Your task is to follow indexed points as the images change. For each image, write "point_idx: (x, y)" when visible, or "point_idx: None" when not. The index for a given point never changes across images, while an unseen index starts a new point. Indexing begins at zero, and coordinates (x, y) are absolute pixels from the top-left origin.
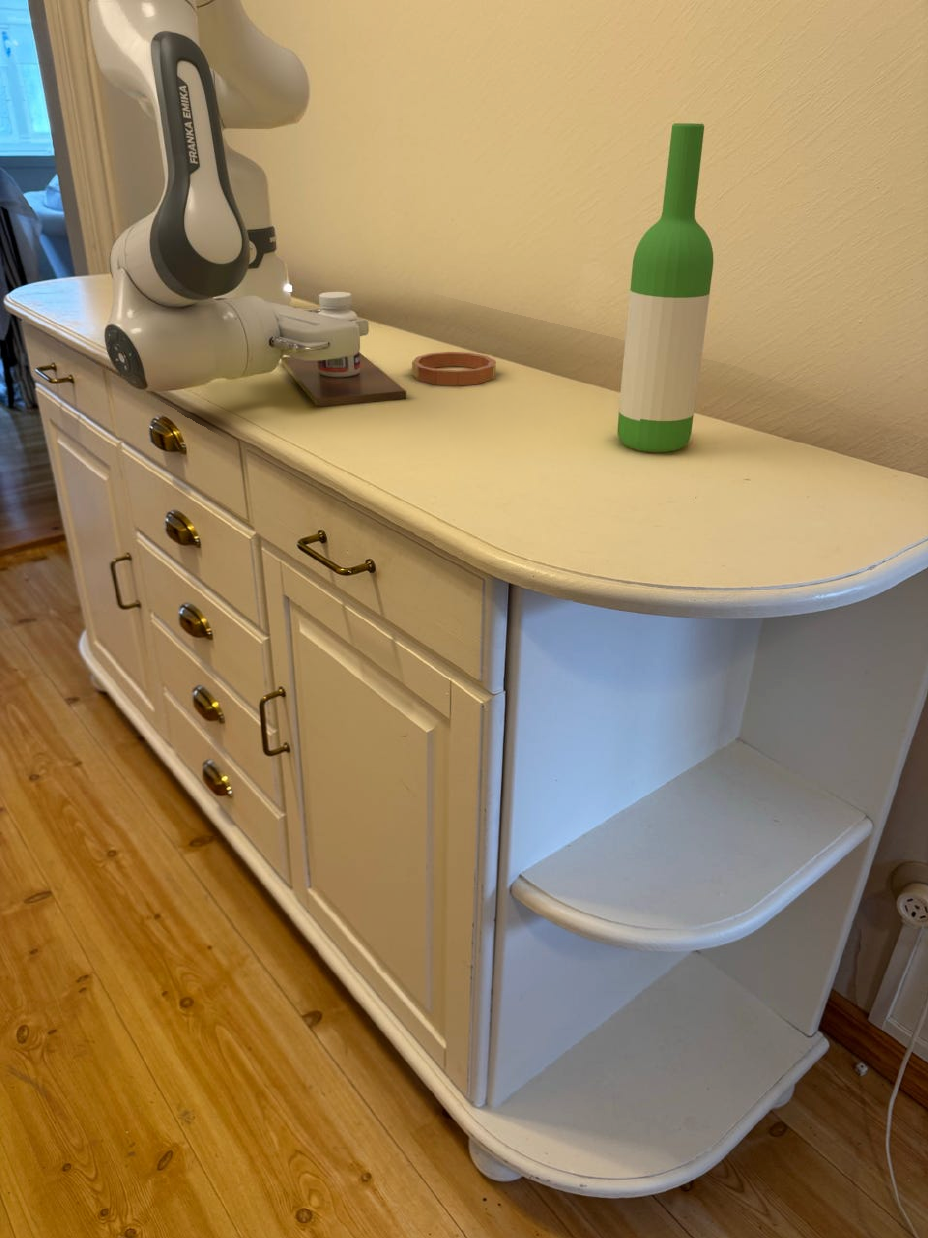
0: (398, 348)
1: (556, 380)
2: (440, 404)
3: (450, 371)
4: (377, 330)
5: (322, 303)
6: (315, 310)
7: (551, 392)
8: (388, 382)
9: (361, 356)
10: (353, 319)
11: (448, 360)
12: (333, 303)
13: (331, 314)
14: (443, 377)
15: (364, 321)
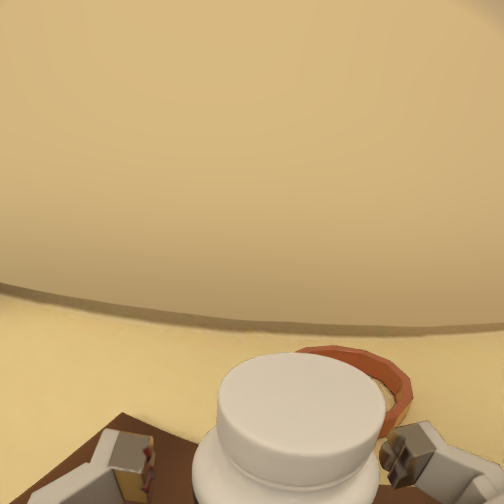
0: (135, 359)
1: (406, 344)
2: (496, 459)
3: (408, 404)
4: (51, 318)
5: (318, 478)
6: (141, 460)
7: (452, 362)
8: (407, 497)
9: (159, 434)
10: (409, 445)
11: None
12: (373, 447)
13: (349, 487)
14: (400, 418)
15: (431, 428)
